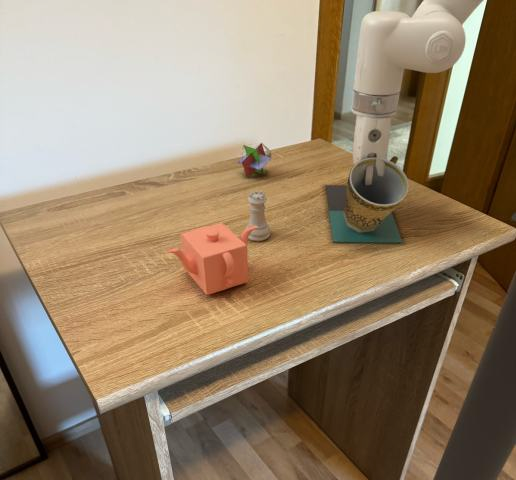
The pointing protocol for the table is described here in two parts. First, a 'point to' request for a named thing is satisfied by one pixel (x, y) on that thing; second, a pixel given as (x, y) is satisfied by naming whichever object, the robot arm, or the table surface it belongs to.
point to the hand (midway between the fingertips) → (359, 205)
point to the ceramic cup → (373, 194)
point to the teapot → (215, 257)
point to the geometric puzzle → (255, 159)
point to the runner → (345, 234)
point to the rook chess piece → (258, 217)
